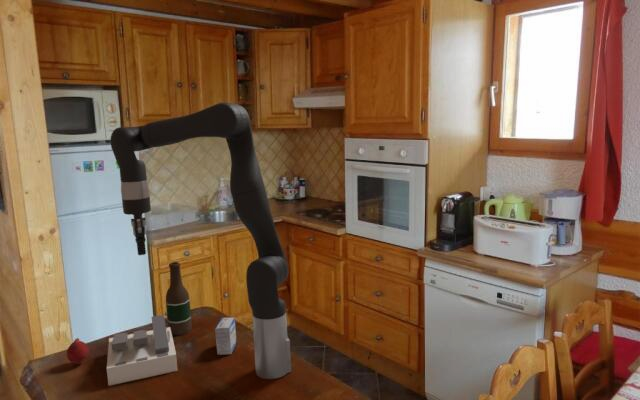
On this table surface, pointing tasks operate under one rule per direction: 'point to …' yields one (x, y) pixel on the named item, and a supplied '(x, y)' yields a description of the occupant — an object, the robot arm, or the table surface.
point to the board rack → (139, 360)
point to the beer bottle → (178, 303)
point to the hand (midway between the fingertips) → (141, 254)
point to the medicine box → (225, 336)
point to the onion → (77, 351)
